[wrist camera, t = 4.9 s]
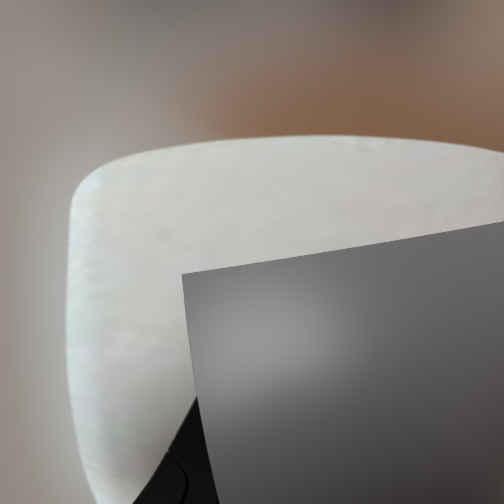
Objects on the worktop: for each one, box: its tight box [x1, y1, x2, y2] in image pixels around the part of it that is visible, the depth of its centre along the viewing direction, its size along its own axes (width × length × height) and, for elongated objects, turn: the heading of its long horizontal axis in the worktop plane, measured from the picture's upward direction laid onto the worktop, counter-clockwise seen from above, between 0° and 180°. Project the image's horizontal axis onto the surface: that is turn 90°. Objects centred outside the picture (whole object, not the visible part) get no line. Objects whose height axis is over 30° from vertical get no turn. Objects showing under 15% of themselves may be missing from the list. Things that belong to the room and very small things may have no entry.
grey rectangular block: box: [182, 221, 504, 504], centre depth 7 cm, size 4×4×12 cm
